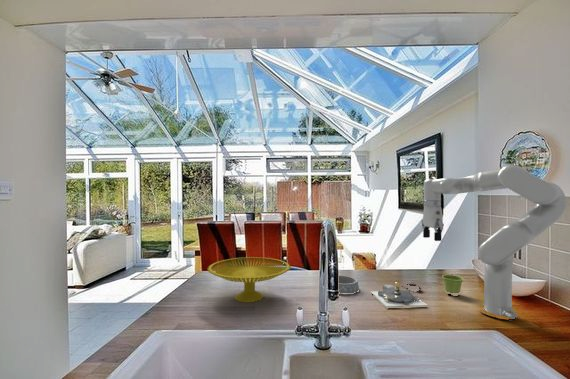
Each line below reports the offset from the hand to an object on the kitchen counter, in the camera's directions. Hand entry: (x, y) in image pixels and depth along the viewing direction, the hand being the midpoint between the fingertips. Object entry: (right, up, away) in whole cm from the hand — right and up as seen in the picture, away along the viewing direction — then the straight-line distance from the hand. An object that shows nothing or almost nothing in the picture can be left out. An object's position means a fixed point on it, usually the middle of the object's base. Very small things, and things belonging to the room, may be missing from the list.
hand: (432, 239), depth 148 cm
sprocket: (-19, -27, -5) cm, 33 cm away
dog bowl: (-42, -29, +12) cm, 52 cm away
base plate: (-19, -28, -5) cm, 34 cm away
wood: (-5, -29, +16) cm, 34 cm away
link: (-23, -25, -6) cm, 35 cm away
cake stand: (-89, -28, -1) cm, 94 cm away
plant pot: (+12, -29, +3) cm, 31 cm away
